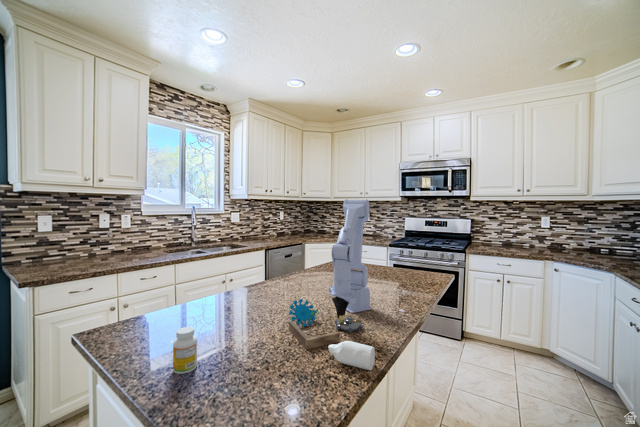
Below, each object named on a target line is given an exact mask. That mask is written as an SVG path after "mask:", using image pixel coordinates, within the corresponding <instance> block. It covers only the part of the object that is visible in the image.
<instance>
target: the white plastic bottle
mask: <svg viewBox="0 0 640 427" xmlns="http://www.w3.org/2000/svg"><path fill="white" fill-rule="evenodd" d="M328 352H329V353H331V355H333V356H334V358H335V359H336V360H337V361H338V362H339V363H341V364H345V365H347V366H352V367H355V368H360V369H363V370H367V371H372V370H373V368H374V364H375V359H376V358H375V356H376V351H375V347H374V346H371V345H368V344H363V343H359V342H356V341H352V340H344V341H340V342H337V343H336V344H334V343H331V344H328Z"/></svg>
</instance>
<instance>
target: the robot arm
mask: <svg viewBox="0 0 640 427" xmlns="http://www.w3.org/2000/svg"><path fill="white" fill-rule="evenodd" d="M342 211H343V214H344V216H345V219H344V220H345V221H344V224H343V225H344V226H343V227H342V228H340V229H339V233H338V235H337V236H338V237H337V239H336V240H337V241H336V243H335V244H334V245H332V247H331V259H332V266H333V285H332V286H330V285H329V287H328V292H329V293H330V296H332V297H331V300H332V302H333V305H334V307H335V310H336V317H337V318H336V319H337V320H339V315H341V314H343V315H345V316H346V311H348V312H349V313H351V314H355V313H360V312H364V311H368V310H369V311H370V310H371V309H372V308H371V292H370V289H369V287H368V282H369V271H368V270H369V268H368V266H366V265H365V264H364V263H363V262H362V257H363V256H362V254H363V238H364V226H365V223H366V222H368V221H369V219H370V202H369V200H368V199H347V198H346V199H345V200H344V201H343V204H342Z"/></svg>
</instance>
